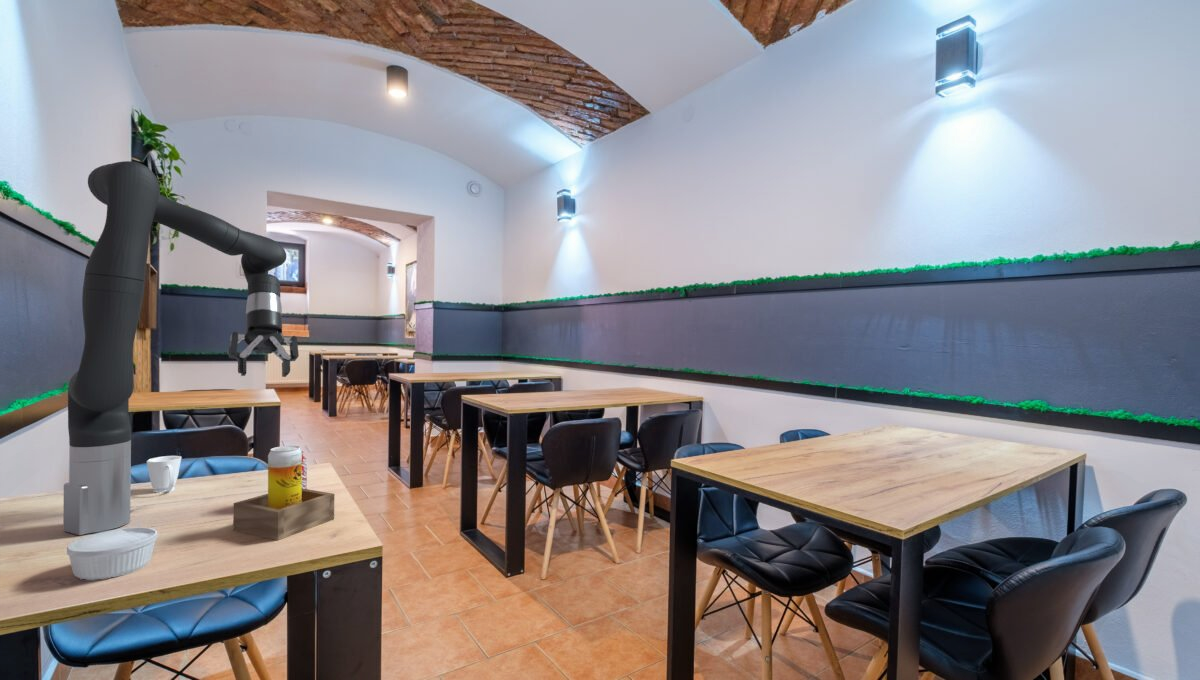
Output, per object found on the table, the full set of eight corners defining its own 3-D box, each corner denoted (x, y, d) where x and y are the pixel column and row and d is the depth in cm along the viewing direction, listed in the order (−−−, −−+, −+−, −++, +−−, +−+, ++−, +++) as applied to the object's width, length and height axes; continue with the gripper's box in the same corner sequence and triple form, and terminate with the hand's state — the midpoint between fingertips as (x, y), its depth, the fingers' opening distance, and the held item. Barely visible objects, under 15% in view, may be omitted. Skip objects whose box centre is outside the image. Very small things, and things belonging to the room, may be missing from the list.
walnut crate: (277, 540, 102) (278, 511, 102) (233, 530, 107) (233, 503, 107) (334, 519, 114) (334, 493, 114) (291, 510, 119) (292, 486, 119)
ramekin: (173, 555, 95) (173, 526, 95) (118, 584, 84) (119, 551, 84) (110, 555, 95) (110, 526, 95) (46, 584, 84) (46, 551, 84)
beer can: (291, 524, 108) (291, 451, 108) (261, 524, 108) (261, 451, 108) (307, 514, 114) (307, 445, 114) (279, 514, 114) (279, 445, 114)
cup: (177, 484, 138) (177, 454, 138) (189, 492, 132) (189, 460, 132) (142, 490, 133) (142, 458, 133) (153, 498, 127) (153, 465, 127)
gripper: (233, 304, 125) (232, 369, 119) (300, 311, 134) (302, 371, 129) (227, 317, 130) (226, 380, 124) (292, 323, 139) (293, 381, 134)
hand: (264, 375), depth 127 cm, fingers open, 8 cm apart
